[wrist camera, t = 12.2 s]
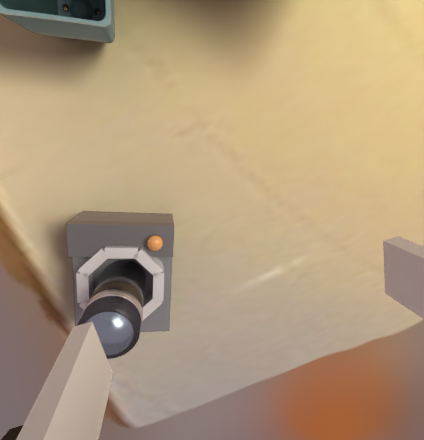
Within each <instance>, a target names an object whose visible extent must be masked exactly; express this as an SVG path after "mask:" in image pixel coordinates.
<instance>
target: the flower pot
mask: <svg viewBox="0 0 424 440" xmlns="http://www.w3.org/2000/svg"><path fill="white" fill-rule="evenodd" d="M64 6H67V7H68V11H65V10H64ZM96 10H99V11H100V15H96V14H95V11H96ZM0 14H2V15H4V16H5V17H7V18H9V19H10V20H12V21H14V22H15V23H17V24H19V25H20V26H22V27H24V28H26V29H27V30H29V31H31V32H34V33H37V34H40V35H45V36H54V37H63V38H71V39H80V40H88V41H96V42H104V43H112V42H113V41H114V38H115V28H114V0H0Z"/></svg>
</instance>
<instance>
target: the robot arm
mask: <svg viewBox="0 0 424 440" xmlns="http://www.w3.org/2000/svg"><path fill="white" fill-rule="evenodd" d="M383 245H384V274H385V293H386V294H387V295H389V296H390V297H392V298H393V299H395V300H396V301H398V302H399V303H401V304H402V305H404V306H405V307H407V308H408V309H410V310H411V311H413V312H414V313H416V314H417V315H419V316H420V317H422V318H423V319H424V246H421V245H419V244H416V243H414V242H411V241H409V240H406V239H403V238H401V237H395V238H392V239H388V240H384V241H383ZM112 377H113V373H112V370H111V367H110V365H109V362H108V360H107V357H106V355H105V352H104V350H103V347H102V345H101V342H100V340H99V337H98V335H97V332H96V330H95V327H94V325H93V322H89V323H85V324H81V325H78V326H74V327H73V328H72V330H71V332H70V334H69V336H68V338H67V340H66V342H65V344H64V346H63V348H62V350H61V352H60V354H59V356H58V358H57V360H56V362H55V364H54V366H53V368H52V370H51V372H50V374H49V376H48V378H47V380H46V382H45V384H44V386H43V388H42V390H41V392H40V394H39V396H38V397H37V399H36V401H35V404H34V405H33V407H32V409H31V411H30V413H29V415H28V417H27V419H26V421H25V423H24V425H22V426H19V427H16V428H12V429H10V430H9V431H8V432H7V434H6V435H5V436H4V437H3V438H2V439H1V440H98V439H99V434H100V430H101V425H102V421H103V417H104V412H105V408H106V403H107V399H108V395H109V390H110V386H111V381H112Z"/></svg>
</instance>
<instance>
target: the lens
mask: <svg viewBox="0 0 424 440" xmlns="http://www.w3.org/2000/svg"><path fill="white" fill-rule="evenodd" d="M145 286H146V275H145V272H144V270H143V269H142V267H141V266H140V265H138V264H137V263H135V262H133V261H130V260H118V261H115V262H113V263H111V264H110V265H109V266H108V267H107V268H106V269H105V270H104V272H103V274H102V276H101V278H100V280H99V282H98V284H97V286H96V288H95V290H94V292H93V294H92V296H91V298H90V300H89V301H88V302H87V304H86V306H85V308H84V310H83V312H82V314H81V318H80V321H79V323H78V325H81V324H85V323H89V322H93V325H94V327H95V330H96V332H97V335H98V337H99V340H100V342H101V345H102V347H103V350H104V352H105V355H106V357H107V359H109V358H116V357H119V356H122V355H124V354H125V353H127V352H128V351H130V350H131V349H132V348H133V347H134V346H135V344H136V342H137V341H138V338H139V334H140V329H141V326H142V319H143V302H144V294H145ZM78 325H77V326H78Z"/></svg>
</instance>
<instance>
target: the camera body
mask: <svg viewBox="0 0 424 440" xmlns="http://www.w3.org/2000/svg"><path fill="white" fill-rule="evenodd" d="M66 230H67V251H68V257H72V260H73V283H74V306H75V326H77V325H78V323H79V321H80V318H81V314H82V312H83V310H84V308H85V306H86V304H87V302H88V301H89V300H90V298H91V296H92V294H93V292H94V290H95V288H96V286H97V284H98V282H99V280H100V278H101V276H102V274H103V272H104V270H105V269H106V268H107V267H108V266H109V265H110V264H111V263H113V262H115V261H118V260H130V261H133V262H135V263H137V264H138V265H140V266H141V267H142V269H143V270H144V272H145V275H146V286H145V294H144V302H143V319H142V326H141V329H140V332H154V331H169V326H170V300H171V275H172V257H173V241H174V223H173V217H172V214H156V213H124V212H92V211H83V212H82V213H80V214H79V215H77V216H76V217H75V218H73V219H72V220H71V221H69V222H68V223H66Z"/></svg>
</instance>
